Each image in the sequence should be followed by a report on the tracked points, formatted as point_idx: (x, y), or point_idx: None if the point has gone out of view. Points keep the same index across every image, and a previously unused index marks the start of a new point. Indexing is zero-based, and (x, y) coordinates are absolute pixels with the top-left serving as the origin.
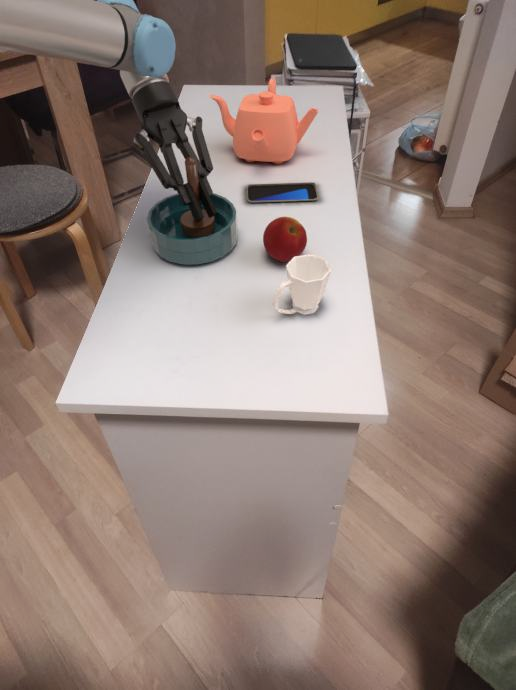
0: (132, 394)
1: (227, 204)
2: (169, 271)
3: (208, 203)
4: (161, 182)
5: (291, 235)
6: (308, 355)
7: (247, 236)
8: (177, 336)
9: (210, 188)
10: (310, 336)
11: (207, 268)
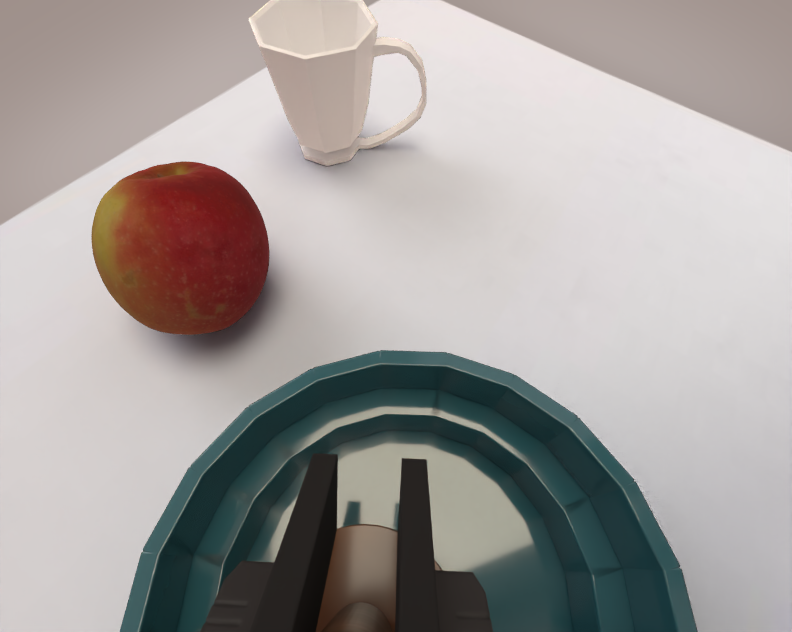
0: (775, 160)
1: (160, 584)
2: None
3: (325, 507)
4: None
5: (195, 166)
6: None
7: None
8: (646, 223)
9: (220, 605)
10: (386, 93)
11: None
